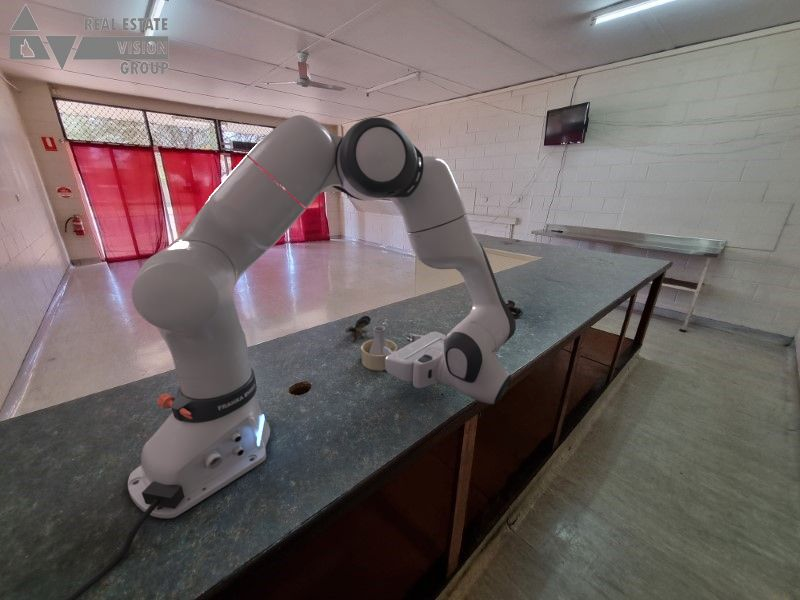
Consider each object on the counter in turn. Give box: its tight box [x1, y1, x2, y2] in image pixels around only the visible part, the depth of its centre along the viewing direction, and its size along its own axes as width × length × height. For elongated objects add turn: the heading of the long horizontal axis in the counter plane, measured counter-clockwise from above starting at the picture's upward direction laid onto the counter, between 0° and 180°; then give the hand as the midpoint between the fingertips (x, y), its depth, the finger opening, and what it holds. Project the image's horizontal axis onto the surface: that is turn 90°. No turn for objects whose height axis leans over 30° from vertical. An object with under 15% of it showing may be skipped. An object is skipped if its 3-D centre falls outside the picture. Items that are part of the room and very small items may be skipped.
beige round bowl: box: [360, 338, 398, 372], centre depth 89 cm, size 10×10×4 cm
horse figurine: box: [506, 299, 524, 318], centre depth 123 cm, size 9×4×15 cm
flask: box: [369, 325, 387, 355], centre depth 88 cm, size 7×7×10 cm
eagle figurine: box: [345, 315, 372, 343], centre depth 103 cm, size 8×7×9 cm
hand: (397, 342), depth 83 cm, fingers open, 8 cm apart
